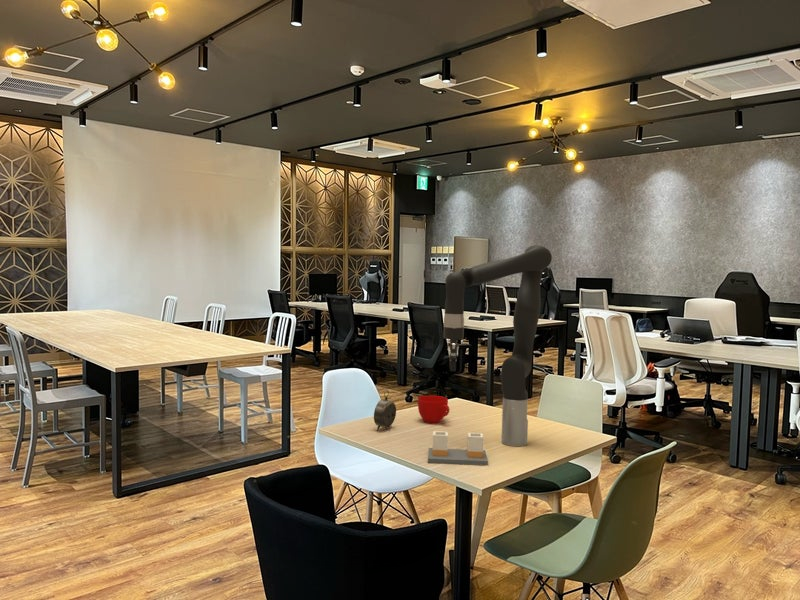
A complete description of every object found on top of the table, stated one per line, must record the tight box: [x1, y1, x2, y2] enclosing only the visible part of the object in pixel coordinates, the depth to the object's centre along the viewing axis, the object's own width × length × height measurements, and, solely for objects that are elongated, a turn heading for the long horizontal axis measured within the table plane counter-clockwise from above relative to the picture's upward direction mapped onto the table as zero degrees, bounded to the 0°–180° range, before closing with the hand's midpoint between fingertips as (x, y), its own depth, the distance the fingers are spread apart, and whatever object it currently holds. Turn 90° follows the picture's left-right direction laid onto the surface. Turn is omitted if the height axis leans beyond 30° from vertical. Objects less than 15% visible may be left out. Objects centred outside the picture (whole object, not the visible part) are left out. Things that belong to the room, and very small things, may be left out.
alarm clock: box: [373, 389, 397, 432], centre depth 238 cm, size 11×5×16 cm, turn 149°
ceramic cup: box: [417, 395, 450, 424], centre depth 251 cm, size 13×17×10 cm
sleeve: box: [432, 430, 449, 456], centre depth 203 cm, size 5×5×7 cm
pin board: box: [427, 432, 489, 466], centre depth 202 cm, size 20×12×8 cm, turn 86°
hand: (452, 369), depth 219 cm, fingers open, 8 cm apart
